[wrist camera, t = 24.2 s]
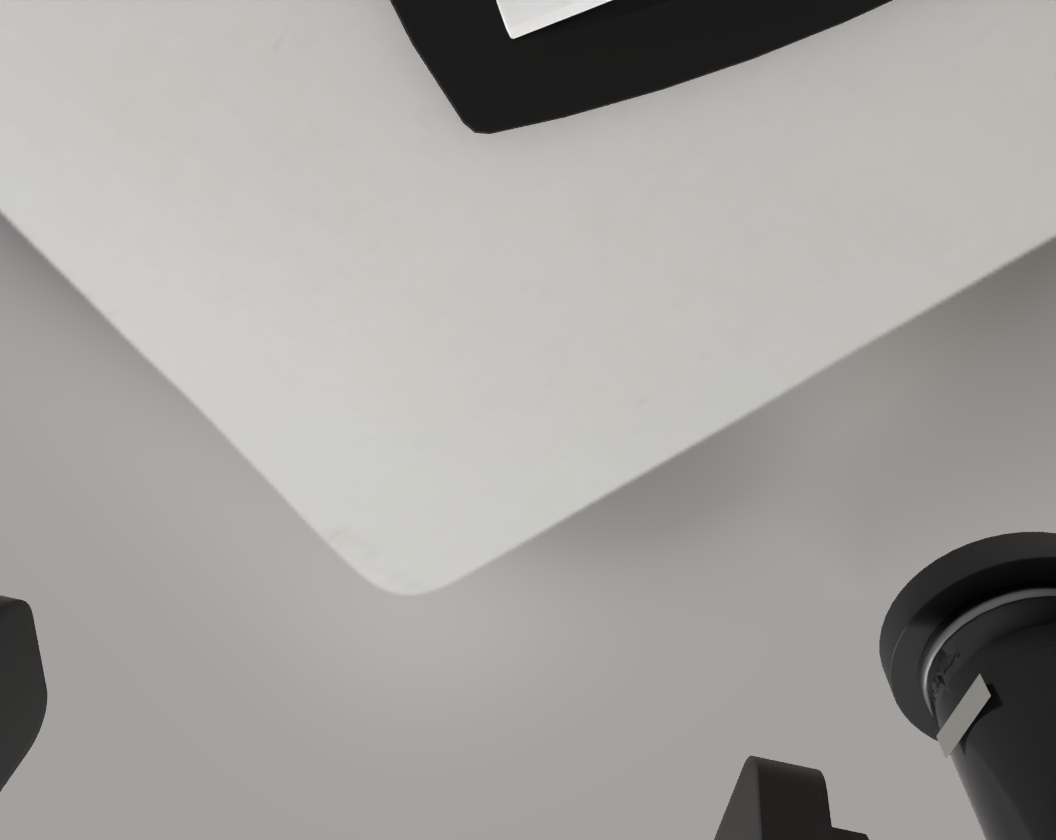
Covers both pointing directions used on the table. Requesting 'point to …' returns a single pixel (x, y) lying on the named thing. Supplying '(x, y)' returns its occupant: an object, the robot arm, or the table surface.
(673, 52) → the light switch
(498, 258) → the table surface
